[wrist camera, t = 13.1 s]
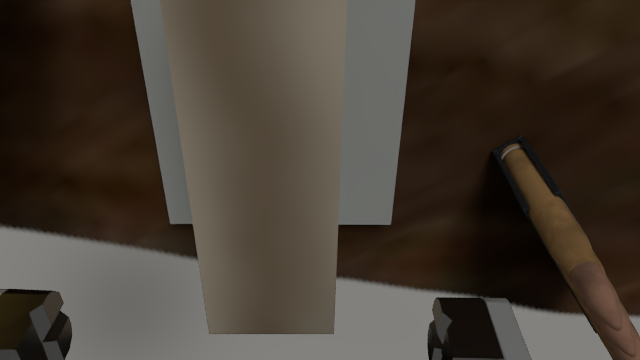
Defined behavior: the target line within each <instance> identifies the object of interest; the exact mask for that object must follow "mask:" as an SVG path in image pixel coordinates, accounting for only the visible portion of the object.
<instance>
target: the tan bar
mask: <svg viewBox="0 0 640 360" xmlns="http://www.w3.org/2000/svg"><path fill="white" fill-rule="evenodd" d="M160 5H161V12H162V19H163V26H164V32H165V39H166V46H167V53H168V59H169V66H170V73H171V80H172V86H173V93H174V100H175V107H176V113H177V120H178V127H179V134H180V140H181V147H182V154H183V161H184V167H185V174H186V181H187V188H188V194H189V201H190V208H191V215H192V221H193V228H194V235H195V242H196V248H197V255H198V262H199V268H200V275H201V282H202V289H203V295H204V302H205V309H206V316H207V323H208V329H209V334H334V316H335V315H334V314H335V290H336V267H337V243H338V218H339V194H340V169H341V145H342V121H343V96H344V72H345V48H346V23H347V0H160Z"/></svg>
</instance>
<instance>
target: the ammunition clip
mask: <svg viewBox="0 0 640 360" xmlns="http://www.w3.org/2000/svg"><path fill="white" fill-rule="evenodd" d="M492 155H493V157H494V158H495V160H496V162H497V164H498V166H499V168H500V169H501V171H502V173H503V175H504V177H505V179H506V181H507V182H508V184H509V186H510V188H511V190H512V192H513V193H514V195H515V197H516V199H517V201H518V203H519V205H520V206H521V208H522V210H523V212H524V213H525V215H526V217H527V219H528V220H529V222H530V224H531V225H532V227H533V229H534V230H535V232H536V234H537V235H538V237H539V239H540V240H541V242H542V244H543V245H544V247H545V249H546V251H547V252H548V254H549V256H550V257H551V259H552V261H553V262H554V264H555V266H556V267H557V269H558V271H559V272H560V274H561V276H562V277H563V279H564V281H565V282H566V284H567V286H568V288H569V289H570V291H571V293H572V294H573V296H574V298H575V299H576V301H577V303H578V304H579V306H580V308H581V309H582V311H583V313H584V314H585V316H586V318H587V319H588V321H589V323H590V325H591V326H592V327H593V330H594V331H595V332H596V333H598V335H599V337H600V339H601V340H602V342H603V344H604V345H605V347H606V348H607V350H608V352H609V354H610V355H611V357H612V359H613V360H640V337H639V335H638V333H637V331H636V329H635V327H634V326H633V324H632V323H631V321H630V319H629V316H628V314H627V312H626V310H625V308H624V306H623V305H622V303H621V302H620V300H619V298H618V296H617V293H616V291H615V289H614V287H613V285H612V284H611V282H610V280H609V279H608V277H607V276H606V274H605V271H604V269H603V266H602V265H601V263H600V261H599V259H598V258H597V256H596V254H595V253H594V251H593V250H592V248H591V245H590V242H589V240H588V238H587V236H586V234H585V233H584V231H583V230H582V228H581V227H580V225H579V223H578V221H577V219H576V218H575V216H574V214H573V212H572V210H571V208H570V206H569V204H568V202H567V201H566V199H565V197H564V195H563V193H562V191H561V190H560V188H559V187H558V185H557V184H556V182H555V181H554V179H553V178H552V176H551V175H550V173H549V172H548V170H547V169H546V167H545V166H544V164H543V163H542V161H541V160H540V159H539V157H538V156H537V154H536V153H535V151H534V150H533V148H532V147H531V145H530V144H529V142H528V141H527V139H526V138H525V136H524V135H521V136H519V137H517V138H515V139H514V140H512V141H510V142H508V143H506V144H504V145H502V146H500V147H499V148H497V149H495V150H493V151H492Z"/></svg>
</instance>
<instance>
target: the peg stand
mask: <svg viewBox="0 0 640 360" xmlns="http://www.w3.org/2000/svg"><path fill="white" fill-rule="evenodd" d="M131 5H132V11H133V16H134V22H135V27H136V33H137V39H138V44H139V50H140V56H141V61H142V67H143V73H144V78H145V84H146V89H147V95H148V101H149V106H150V112H151V118H152V123H153V129H154V135H155V140H156V146H157V152H158V157H159V163H160V168H161V174H162V180H163V185H164V191H165V197H166V202H167V208H168V214H169V219H170V224H193V221H192V215H191V208H190V201H189V194H188V188H187V181H186V174H185V167H184V161H183V154H182V147H181V140H180V134H179V127H178V120H177V113H176V107H175V100H174V93H173V86H172V80H171V73H170V66H169V59H168V53H167V46H166V39H165V32H164V26H163V19H162V12H161V5H160V0H131ZM414 8H415V0H347V23H346V48H345V72H344V96H343V121H342V145H341V169H340V194H339V218H338V225H391V218H392V209H393V199H394V190H395V181H396V172H397V163H398V154H399V145H400V136H401V126H402V117H403V108H404V99H405V90H406V81H407V72H408V63H409V53H410V44H411V35H412V26H413V17H414Z"/></svg>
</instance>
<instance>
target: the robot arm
mask: <svg viewBox="0 0 640 360" xmlns="http://www.w3.org/2000/svg"><path fill="white" fill-rule="evenodd" d="M62 305H63V300H62V298H61V295H60V293H59V292H56V291H46V290H45V291H44V290H23V289H0V360H65V358H66V355H67V353H68V351H69V348H70V344H71V339H72V328H71V322H70V320H69V317H68V316H66V315H65V314H64V313H62V312H61V311H60V309H61V307H62ZM432 311H433V316H434V321H433V322H431V323H430V325H429V331H428V356H429V360H532V359H531V357H530V354H529V352H528V349H527V347H526V344H525V341H524V339H523V336H522V334H521V331H520V329H519V326H518V323H517V321H516V318H515V316H514V313H513V310H512V308H511V305H510V303H509V301H508V300H507V299H506V298H482V299H481V298H436V299H435V301H434V304H433V309H432Z"/></svg>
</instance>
